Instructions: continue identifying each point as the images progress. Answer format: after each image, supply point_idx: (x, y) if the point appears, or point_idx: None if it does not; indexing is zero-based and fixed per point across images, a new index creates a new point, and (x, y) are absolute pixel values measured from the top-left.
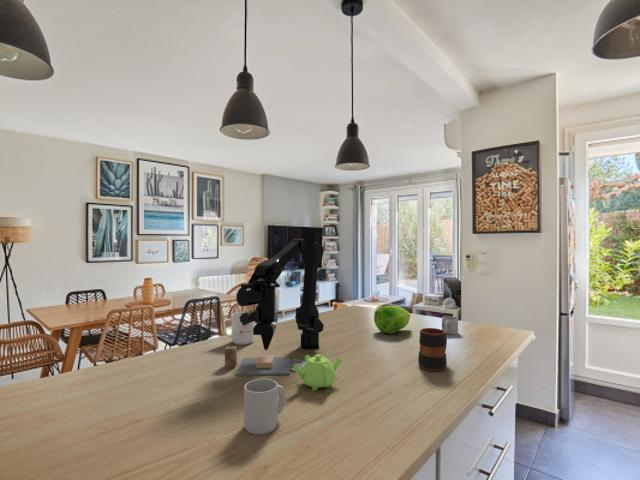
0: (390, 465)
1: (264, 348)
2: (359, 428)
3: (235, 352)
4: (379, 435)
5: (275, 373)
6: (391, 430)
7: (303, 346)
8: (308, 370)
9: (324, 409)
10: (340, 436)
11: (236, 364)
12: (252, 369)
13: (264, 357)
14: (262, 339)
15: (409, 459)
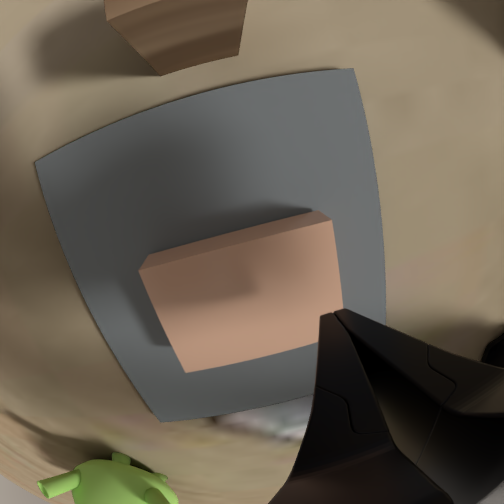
0: (6, 476)
1: (319, 324)
2: (33, 479)
3: (151, 27)
4: (38, 488)
5: (129, 377)
6: (56, 498)
7: (498, 345)
8: (74, 500)
9: (37, 462)
10: (3, 459)
11: (222, 57)
12: (123, 237)
13: (280, 290)
14: (312, 408)
15: (25, 489)
